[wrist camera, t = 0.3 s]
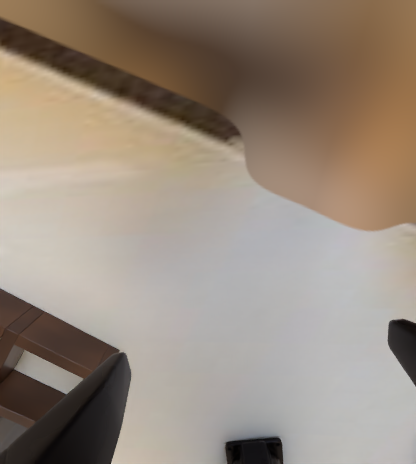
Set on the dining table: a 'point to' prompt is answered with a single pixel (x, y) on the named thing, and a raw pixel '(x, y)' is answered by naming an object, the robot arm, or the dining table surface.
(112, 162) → the dining table surface
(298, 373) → the dining table surface
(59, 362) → the spice rack
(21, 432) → the slate board
